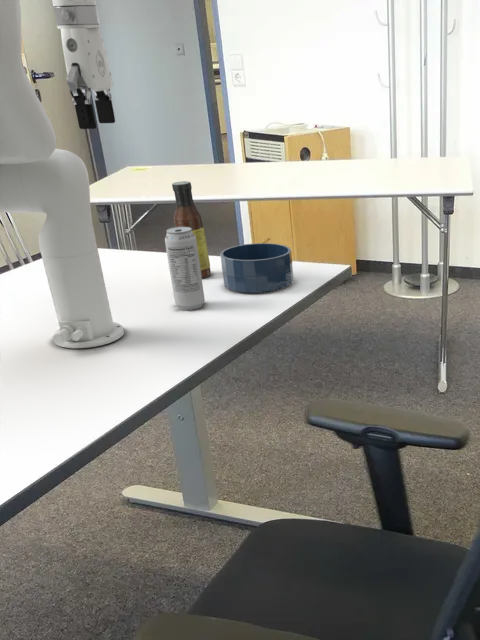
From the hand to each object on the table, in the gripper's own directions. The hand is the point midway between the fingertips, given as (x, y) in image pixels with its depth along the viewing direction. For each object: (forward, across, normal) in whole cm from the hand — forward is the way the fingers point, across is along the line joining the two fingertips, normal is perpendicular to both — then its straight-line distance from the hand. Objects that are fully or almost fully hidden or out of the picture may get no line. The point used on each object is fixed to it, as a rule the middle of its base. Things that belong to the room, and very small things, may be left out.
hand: (98, 125), depth 148 cm
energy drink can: (+32, -9, -16) cm, 37 cm away
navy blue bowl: (+32, +7, -27) cm, 43 cm away
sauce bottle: (+32, +14, -11) cm, 37 cm away
